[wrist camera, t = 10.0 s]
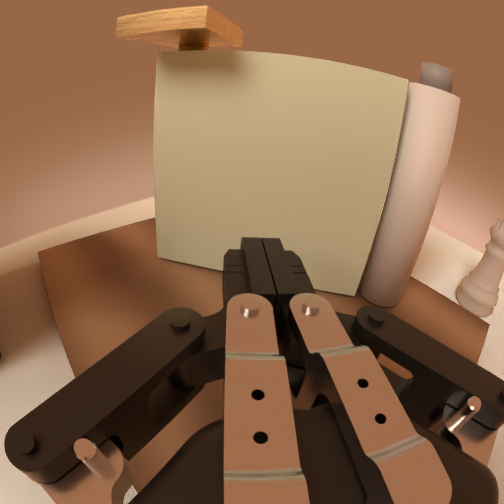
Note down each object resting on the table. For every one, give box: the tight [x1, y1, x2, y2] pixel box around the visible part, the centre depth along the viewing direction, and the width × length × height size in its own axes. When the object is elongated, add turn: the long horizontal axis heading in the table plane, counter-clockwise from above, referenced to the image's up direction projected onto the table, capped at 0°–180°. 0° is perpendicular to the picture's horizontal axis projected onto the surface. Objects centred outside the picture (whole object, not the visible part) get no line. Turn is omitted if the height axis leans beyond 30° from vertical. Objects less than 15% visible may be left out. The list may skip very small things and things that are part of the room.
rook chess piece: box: [456, 219, 504, 317], centre depth 20 cm, size 4×4×8 cm
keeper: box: [116, 6, 243, 51], centre depth 18 cm, size 7×5×18 cm
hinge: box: [154, 50, 460, 307], centre depth 17 cm, size 18×3×16 cm, turn 78°
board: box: [38, 218, 490, 493], centre depth 20 cm, size 24×28×1 cm
